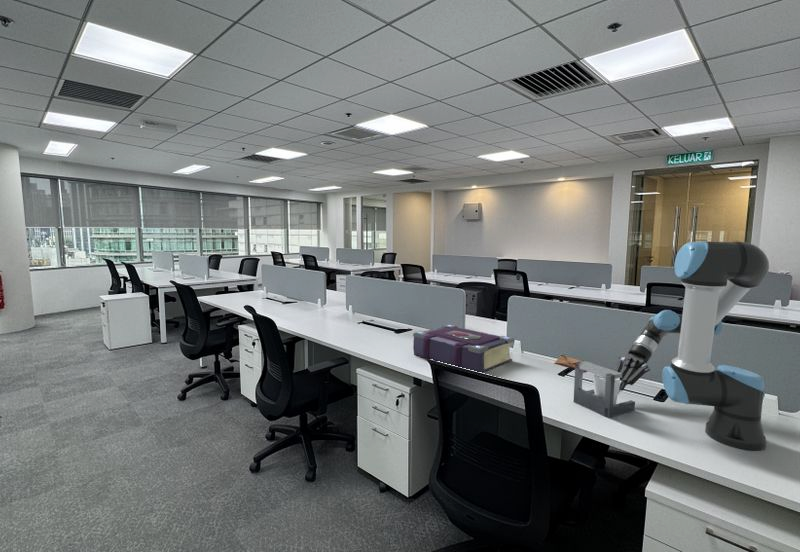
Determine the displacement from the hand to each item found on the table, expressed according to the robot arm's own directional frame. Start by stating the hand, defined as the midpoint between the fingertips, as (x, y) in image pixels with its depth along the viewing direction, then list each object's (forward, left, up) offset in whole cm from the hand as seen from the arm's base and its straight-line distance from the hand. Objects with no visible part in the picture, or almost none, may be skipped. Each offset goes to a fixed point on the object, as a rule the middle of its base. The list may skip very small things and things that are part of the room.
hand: (612, 395), depth 153 cm
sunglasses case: (+45, -8, -4) cm, 46 cm away
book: (+62, +46, -4) cm, 78 cm away
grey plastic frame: (-2, +5, -4) cm, 7 cm away
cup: (-2, +5, -4) cm, 6 cm away
